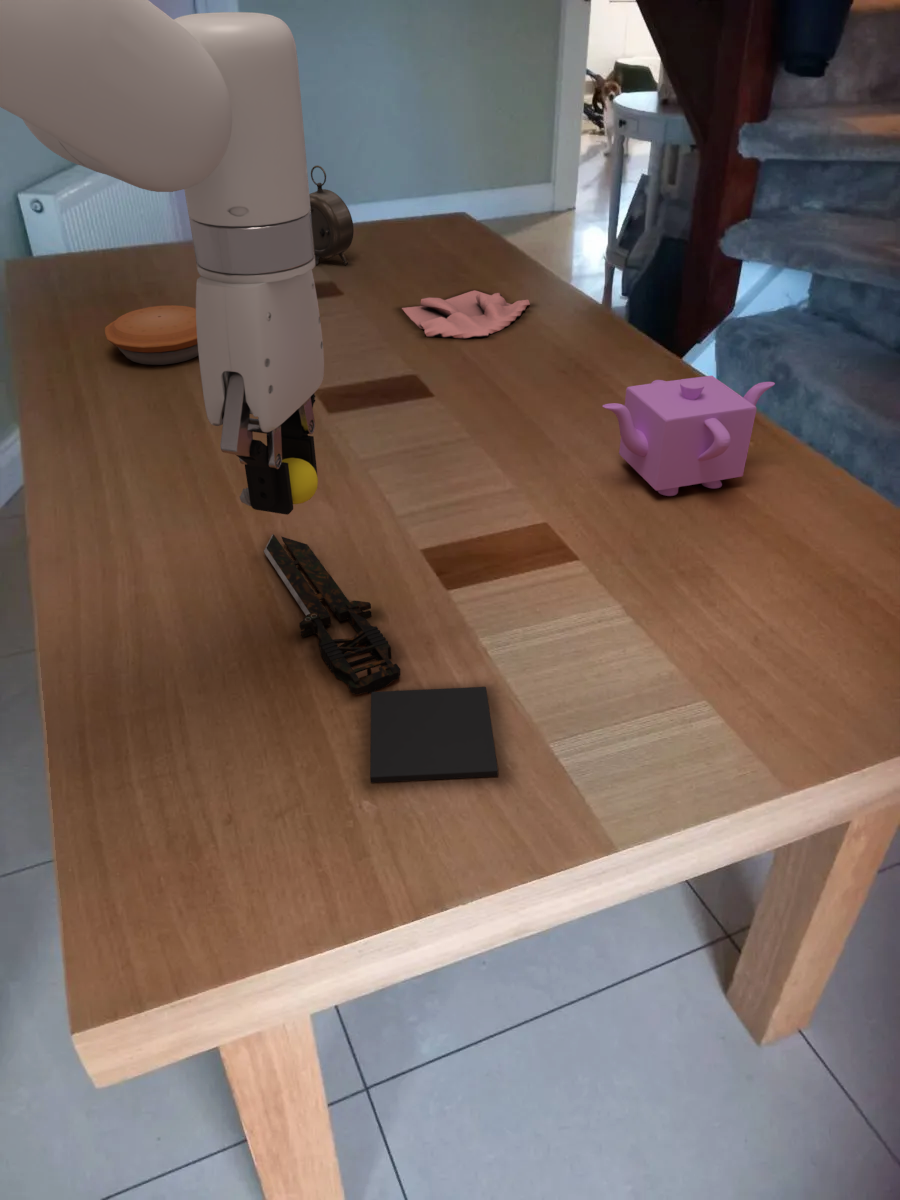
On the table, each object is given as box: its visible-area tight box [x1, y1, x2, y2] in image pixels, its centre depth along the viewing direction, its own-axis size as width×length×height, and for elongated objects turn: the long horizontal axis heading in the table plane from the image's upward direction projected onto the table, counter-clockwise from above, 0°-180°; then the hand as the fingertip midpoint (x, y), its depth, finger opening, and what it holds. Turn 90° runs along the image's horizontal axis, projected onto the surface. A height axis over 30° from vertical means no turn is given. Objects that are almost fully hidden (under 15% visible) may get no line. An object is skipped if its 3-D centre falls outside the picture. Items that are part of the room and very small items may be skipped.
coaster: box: [369, 686, 499, 783], centre depth 68 cm, size 9×9×1 cm
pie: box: [104, 304, 199, 366], centre depth 131 cm, size 16×16×5 cm
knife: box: [263, 533, 401, 696], centre depth 81 cm, size 25×6×1 cm, turn 22°
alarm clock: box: [309, 165, 355, 266], centre depth 163 cm, size 11×5×16 cm, turn 53°
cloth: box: [401, 290, 531, 340], centre depth 143 cm, size 20×22×2 cm
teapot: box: [601, 375, 776, 497], centre depth 98 cm, size 15×13×11 cm
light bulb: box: [239, 458, 319, 507], centre depth 68 cm, size 3×6×4 cm, turn 103°
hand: (285, 493), depth 69 cm, fingers closed on light bulb, 3 cm apart
